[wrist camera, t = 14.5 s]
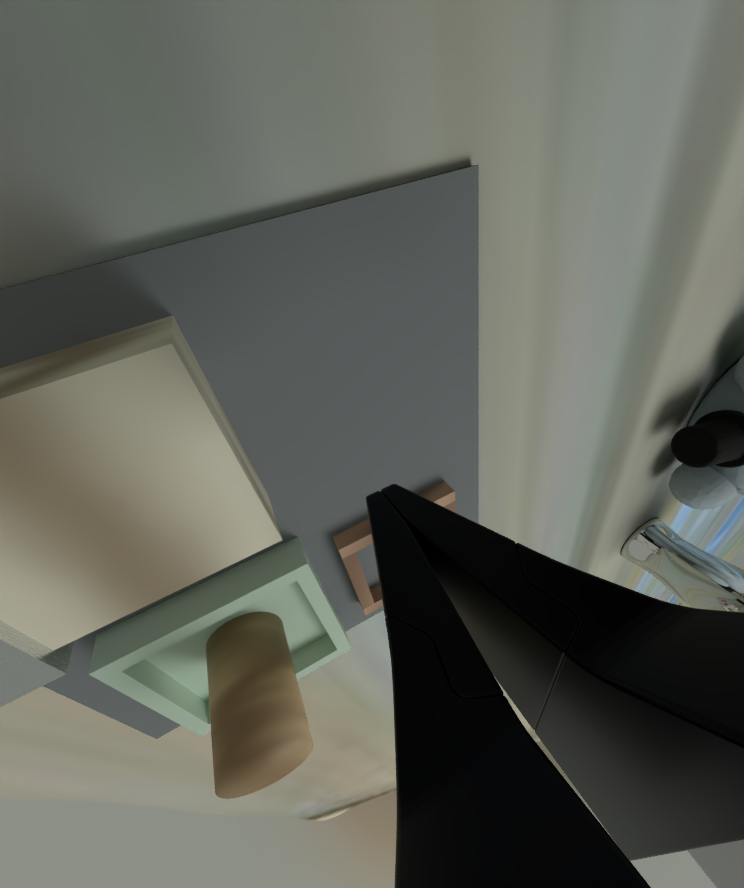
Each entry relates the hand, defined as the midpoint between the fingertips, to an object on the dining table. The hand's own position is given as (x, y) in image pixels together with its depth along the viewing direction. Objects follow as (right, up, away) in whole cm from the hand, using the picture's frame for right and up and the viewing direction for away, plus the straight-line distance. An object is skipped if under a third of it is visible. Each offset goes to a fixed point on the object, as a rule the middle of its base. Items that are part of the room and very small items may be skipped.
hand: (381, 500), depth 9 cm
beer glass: (+32, -10, +34) cm, 47 cm away
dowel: (-7, -9, +10) cm, 15 cm away
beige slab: (-9, +1, +3) cm, 10 cm away
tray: (-7, -9, +11) cm, 16 cm away
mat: (-5, -3, +8) cm, 10 cm away
